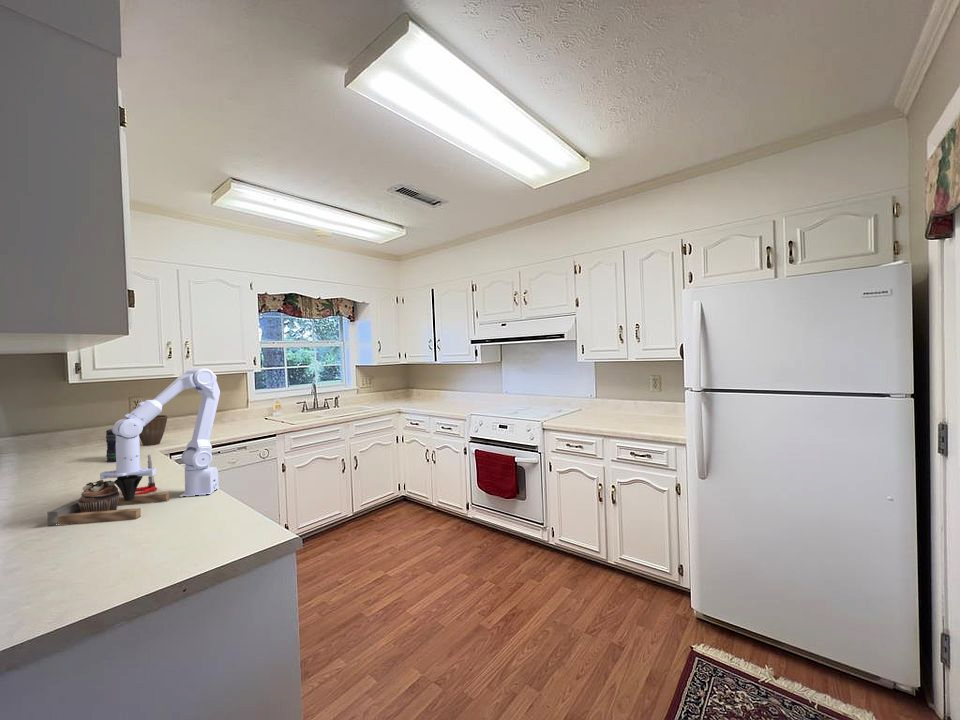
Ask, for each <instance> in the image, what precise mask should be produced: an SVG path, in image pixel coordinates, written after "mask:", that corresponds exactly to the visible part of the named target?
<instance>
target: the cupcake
mask: <svg viewBox="0 0 960 720" xmlns="http://www.w3.org/2000/svg"><path fill="white" fill-rule="evenodd" d="M114 481H115V480H105V481H104V479H100V480H97V481H95V482H88V483H86V484H85V485H84V486H83V487H82V490H83V491H82V492H81V496H80V498H78V499H79V501H78V504H79V506H80V510H81V513H84V512H97V511H110V510H118V506H119V505H118V501H119V496H121V493H120V492H119V487H118V486H117V485H116V484H115V483H114Z"/></svg>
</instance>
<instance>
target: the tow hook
mask: <svg viewBox="0 0 960 720" xmlns="http://www.w3.org/2000/svg"><path fill="white" fill-rule="evenodd" d="M147 468H150V469H153V461H152V458H151V455H150V454H148V455H147ZM154 477H155V475H153V476H147V479H148V482H147V485H145V486H142V487H141V486H140V487H137V489H136V492H135V495H137V494H148V493H150V492H156V491H157V490H158V487H157V486H156V482H155V478H154ZM155 490H156V491H155ZM120 496H123V494H122V493H120Z"/></svg>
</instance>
